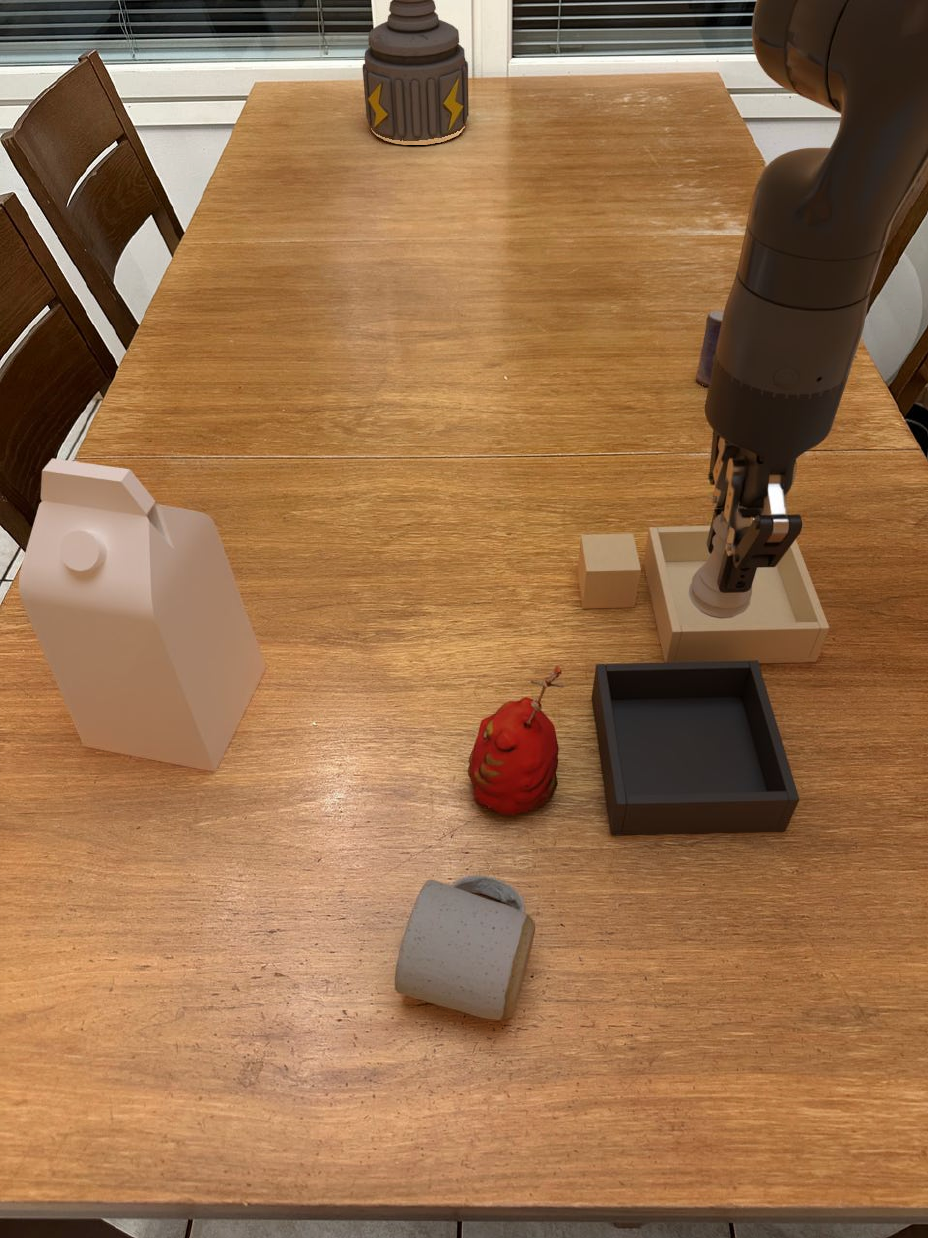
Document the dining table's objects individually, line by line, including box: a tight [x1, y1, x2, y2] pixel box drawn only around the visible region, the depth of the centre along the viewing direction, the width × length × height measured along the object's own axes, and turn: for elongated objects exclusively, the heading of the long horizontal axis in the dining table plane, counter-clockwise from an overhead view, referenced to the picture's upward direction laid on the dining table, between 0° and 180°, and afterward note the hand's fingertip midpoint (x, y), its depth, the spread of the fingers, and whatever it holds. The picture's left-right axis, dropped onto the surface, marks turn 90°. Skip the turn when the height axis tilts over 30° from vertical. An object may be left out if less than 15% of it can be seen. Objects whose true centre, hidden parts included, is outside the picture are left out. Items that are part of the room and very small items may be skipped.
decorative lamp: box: [361, 0, 470, 141], centre depth 162 cm, size 19×19×30 cm
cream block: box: [576, 533, 642, 610], centre depth 90 cm, size 5×5×5 cm
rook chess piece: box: [688, 506, 752, 619], centre depth 66 cm, size 4×4×8 cm
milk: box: [17, 457, 267, 773], centre depth 73 cm, size 12×12×26 cm
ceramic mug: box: [394, 874, 536, 1021], centre depth 64 cm, size 11×8×8 cm
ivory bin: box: [642, 525, 830, 664], centre depth 88 cm, size 14×14×5 cm
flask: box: [695, 310, 724, 388], centre depth 110 cm, size 9×3×11 cm, turn 46°
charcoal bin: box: [591, 660, 800, 836], centre depth 76 cm, size 14×14×5 cm
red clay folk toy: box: [467, 665, 565, 816], centre depth 71 cm, size 8×7×15 cm
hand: (727, 568), depth 67 cm, fingers closed on rook chess piece, 3 cm apart
